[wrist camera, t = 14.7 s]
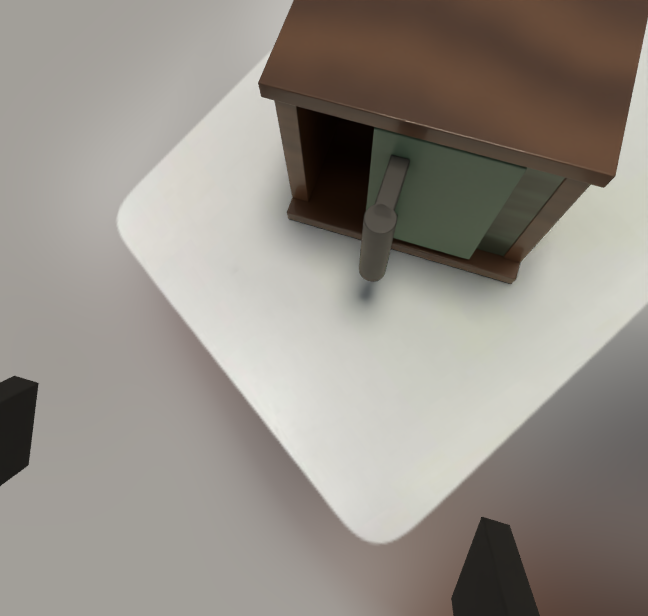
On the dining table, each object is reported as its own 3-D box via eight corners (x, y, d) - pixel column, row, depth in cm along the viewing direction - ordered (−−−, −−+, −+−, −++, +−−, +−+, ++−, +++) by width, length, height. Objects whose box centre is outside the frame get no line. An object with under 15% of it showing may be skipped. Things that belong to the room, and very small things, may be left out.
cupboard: (511, 284, 35) (615, 176, 22) (287, 218, 37) (257, 82, 24) (542, 159, 38) (653, -7, 24) (331, 103, 40) (326, -79, 26)
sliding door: (452, 320, 33) (505, 254, 23) (344, 287, 34) (345, 208, 23) (471, 252, 35) (529, 158, 24) (366, 221, 35) (377, 118, 25)
